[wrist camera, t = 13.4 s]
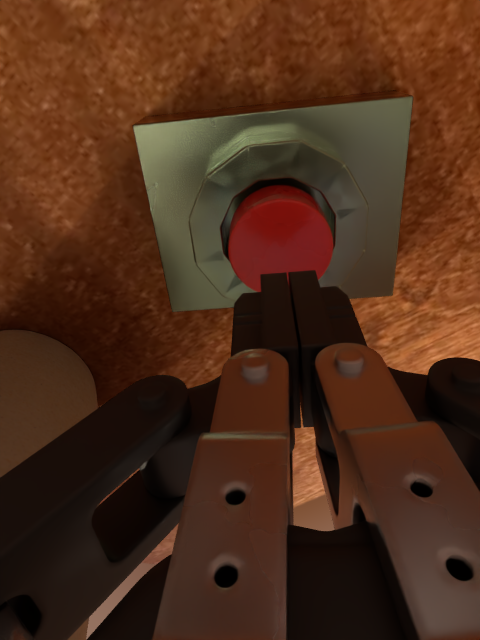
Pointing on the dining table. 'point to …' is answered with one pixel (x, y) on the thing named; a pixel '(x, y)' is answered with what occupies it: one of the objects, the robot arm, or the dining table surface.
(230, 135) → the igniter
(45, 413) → the plant pot
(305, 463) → the dining table surface
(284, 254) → the button
